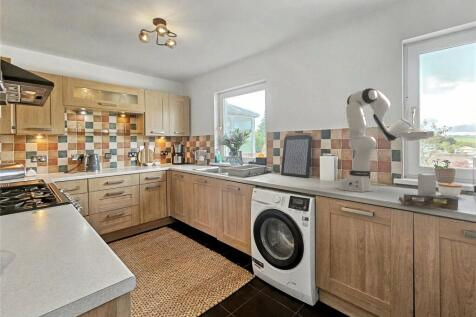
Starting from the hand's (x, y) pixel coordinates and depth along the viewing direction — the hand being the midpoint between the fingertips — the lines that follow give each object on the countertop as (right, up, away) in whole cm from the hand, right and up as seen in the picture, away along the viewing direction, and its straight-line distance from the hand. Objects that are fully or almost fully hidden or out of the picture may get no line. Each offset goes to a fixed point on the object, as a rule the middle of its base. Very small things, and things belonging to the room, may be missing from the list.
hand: (417, 133), depth 148 cm
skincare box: (-13, -40, -23) cm, 48 cm away
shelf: (-14, -41, -24) cm, 50 cm away
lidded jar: (+15, -41, -7) cm, 44 cm away
